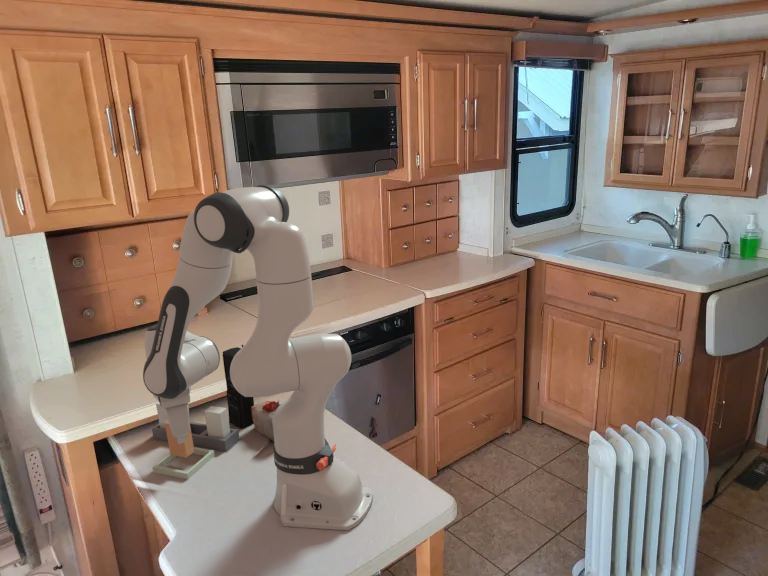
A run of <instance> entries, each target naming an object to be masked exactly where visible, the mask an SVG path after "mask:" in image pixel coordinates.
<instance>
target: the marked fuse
mask: <svg viewBox="0 0 768 576" xmlns="http://www.w3.org/2000/svg"><path fill="white" fill-rule="evenodd" d="M164 421H165V427H166V433H167V439H168V442H167V443H168V448H169V453H170V455H174V456H176V457H180V458H184V459H187V458H188V457H190V456H191V455H192V453H193V452H194V446H193V440H192V434H191V427H190V430H189V434H188V435H185V442H184V443H181V444H178V442H177V437H176V438H175V437H174V436H173V434H172V431H171V428H170V425H169V422H168V419H167V418H166V419H164ZM190 422H191V421H190V420H189V424H190Z"/></svg>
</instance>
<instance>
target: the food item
mask: <svg viewBox="0 0 768 576" xmlns="http://www.w3.org/2000/svg"><path fill="white" fill-rule="evenodd" d="M281 404H282V403H280V400H278V401H277V402H276V401H275V400H272V401H271V400H264V401H260V402H257V403H256V404H255V403H254V406H252V407H251V408H252V418H253V420H252V421H253V422H254V424H253V427H254V430H255V431H256V432H257V433H259V434H261V435H262V436H263V437H265V438H267V439H269V440H270V441H271V442H273V443H274V434H273V425H272V419H273V415H274V413H275V411H276V409H277V408H278V407H279V406H280V405H281Z"/></svg>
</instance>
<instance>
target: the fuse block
mask: <svg viewBox="0 0 768 576" xmlns="http://www.w3.org/2000/svg"><path fill="white" fill-rule="evenodd" d="M155 406H156V412H157V418H158V423H157V424H156V425H155V426H153V427H152V428H151V431H152V437H151V438H150V440H155V441H158V442H159V441H161V442H165V443H166V442H167V443H168V439H167V433H166V427H165V421H164V419H166V418H167V416H166V413H165V410H164V409H163V408H162V407H161V405H160V403H159V401H158V402H157V403H155ZM204 417H205V423H206V424H205V423H200V422H194V421H190V427H191V434H192V440H193V446H194V447H197V448H202V449H208V450H213V451H214V452H215V451H216V452H223V453H228V452H229V451H231V450H232V449H233V448H234V447H236V445H237V444H238V443H239V442H241V440H242V438H241V437H240V433H239V429H238V428H237V429H236V428H232V427H230V423H229V412H228V407H222V406H213V405H210V407H208V408H207V409H205V410H204Z"/></svg>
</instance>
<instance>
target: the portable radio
mask: <svg viewBox="0 0 768 576" xmlns="http://www.w3.org/2000/svg"><path fill="white" fill-rule="evenodd" d="M244 345H245V344H241V345H240V346H241V347H238V346H237V347H232V348H229V349H225V350H224V351H222V361H223V369H224V376H225V377H224V378H225V384H226V398H227V399H226V401H227V411H228V418H229V425H232V426H235V427H237V429H238V428H239V430H240V429H241V430H242V429H246V428H248V427H250V426H251V425H254V422H253V421H252V420H253V418H252V408H251V407H252V406H254V405H255V400H254V397H244V396H243V395H241V394H240V393H239V392H238V391H237V390H236V389H235V387H234V386H233V384H232V381H231V378H230V366H231V362H232V360H233V358H234V356H235V355H236V353H237V352H238V351H239V350H240V349H241V348H242V347H243V346H244Z"/></svg>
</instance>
